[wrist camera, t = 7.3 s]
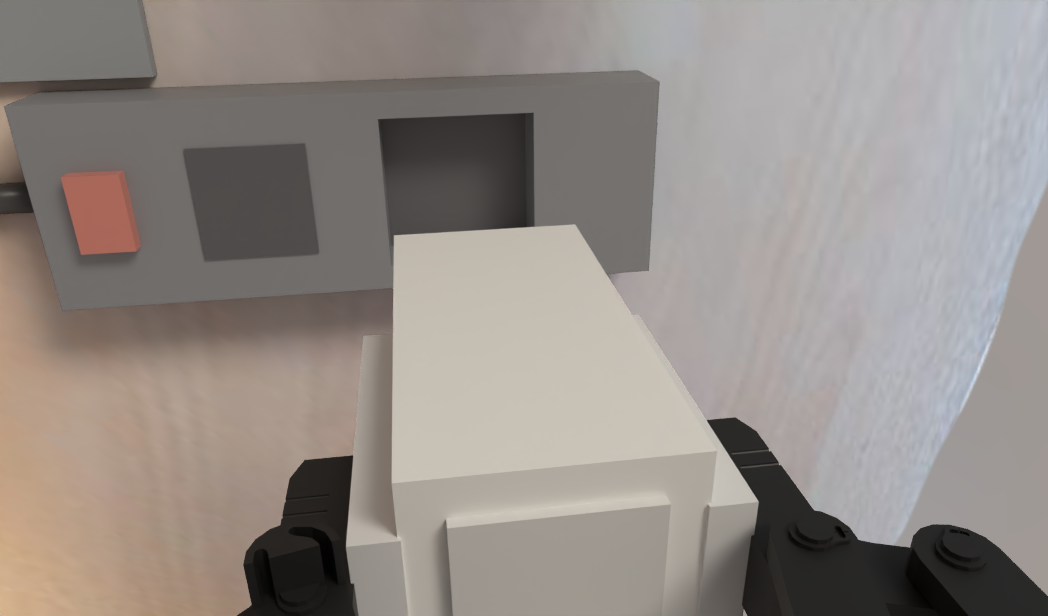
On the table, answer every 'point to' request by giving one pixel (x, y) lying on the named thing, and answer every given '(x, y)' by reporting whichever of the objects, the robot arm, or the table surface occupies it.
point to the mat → (74, 40)
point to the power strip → (322, 178)
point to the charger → (537, 436)
